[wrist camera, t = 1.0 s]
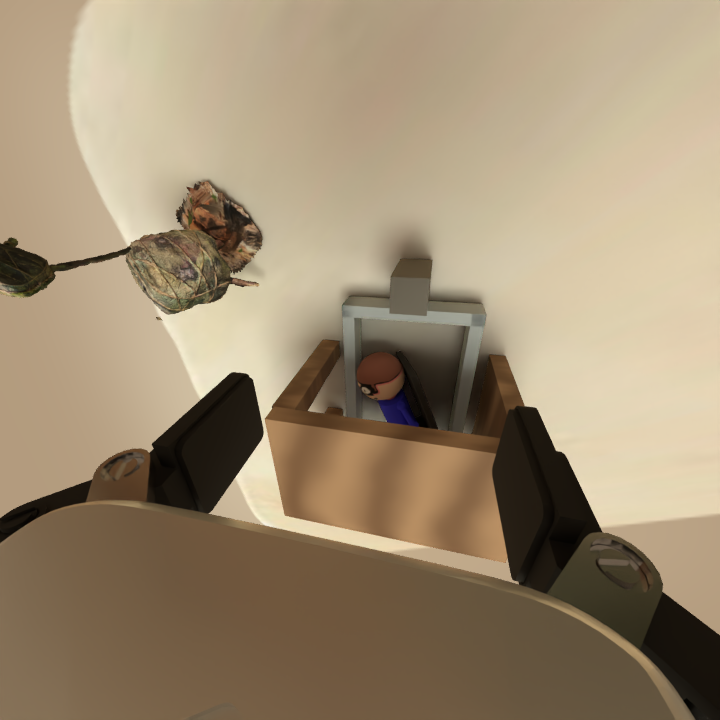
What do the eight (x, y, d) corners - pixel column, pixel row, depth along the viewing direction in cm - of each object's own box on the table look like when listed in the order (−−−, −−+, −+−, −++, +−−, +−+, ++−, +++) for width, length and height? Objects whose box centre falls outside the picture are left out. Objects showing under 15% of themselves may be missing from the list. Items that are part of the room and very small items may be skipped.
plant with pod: (233, 300, 37) (57, 396, 20) (170, 206, 33) (-115, 226, 16) (285, 271, 33) (128, 357, 17) (222, 163, 30) (-66, 132, 13)
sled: (490, 261, 28) (504, 281, 22) (452, 462, 41) (454, 509, 35) (348, 256, 31) (326, 274, 25) (353, 446, 43) (340, 488, 38)
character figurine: (402, 440, 42) (361, 343, 36) (456, 435, 39) (421, 328, 33) (389, 488, 35) (338, 379, 30) (454, 487, 32) (410, 365, 27)
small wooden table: (505, 356, 32) (545, 461, 20) (484, 441, 38) (505, 562, 26) (322, 339, 36) (262, 418, 24) (329, 418, 42) (282, 515, 30)
